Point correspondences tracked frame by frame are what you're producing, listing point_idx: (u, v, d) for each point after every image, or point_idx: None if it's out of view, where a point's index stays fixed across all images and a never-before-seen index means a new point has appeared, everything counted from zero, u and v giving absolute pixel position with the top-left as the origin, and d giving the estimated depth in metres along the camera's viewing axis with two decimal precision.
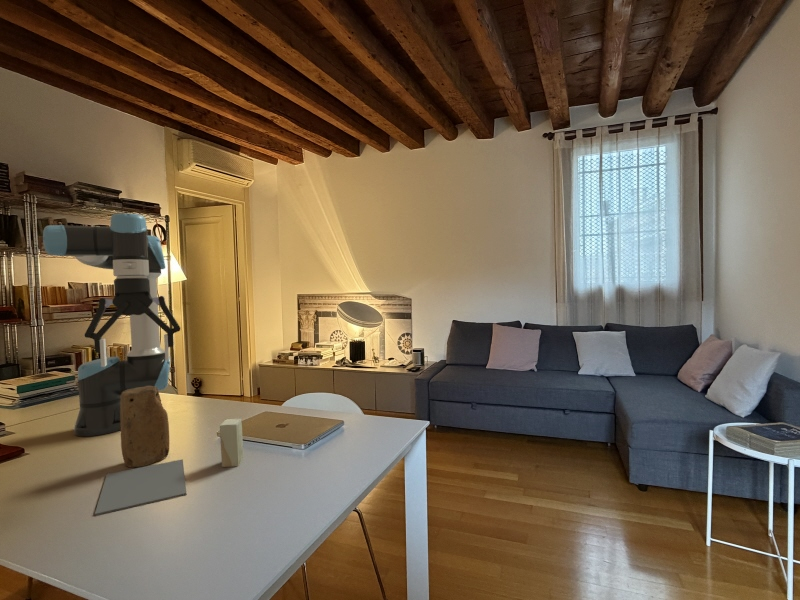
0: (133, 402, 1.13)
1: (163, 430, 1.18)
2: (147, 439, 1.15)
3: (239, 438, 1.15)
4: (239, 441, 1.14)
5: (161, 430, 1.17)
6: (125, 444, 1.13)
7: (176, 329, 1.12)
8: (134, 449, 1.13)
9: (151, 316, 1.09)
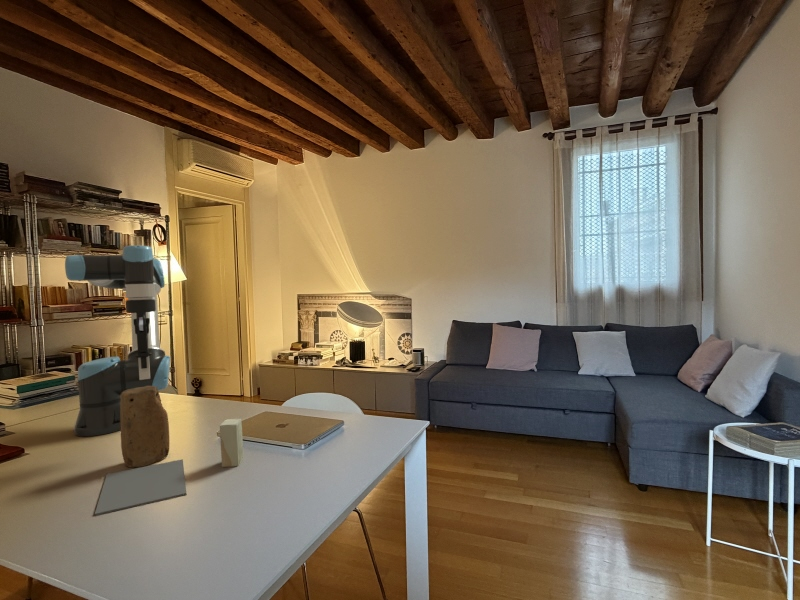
0: (133, 402, 1.13)
1: (163, 430, 1.18)
2: (147, 439, 1.15)
3: (239, 438, 1.15)
4: (239, 441, 1.14)
5: (161, 430, 1.17)
6: (125, 444, 1.13)
7: None
8: (134, 449, 1.13)
9: None
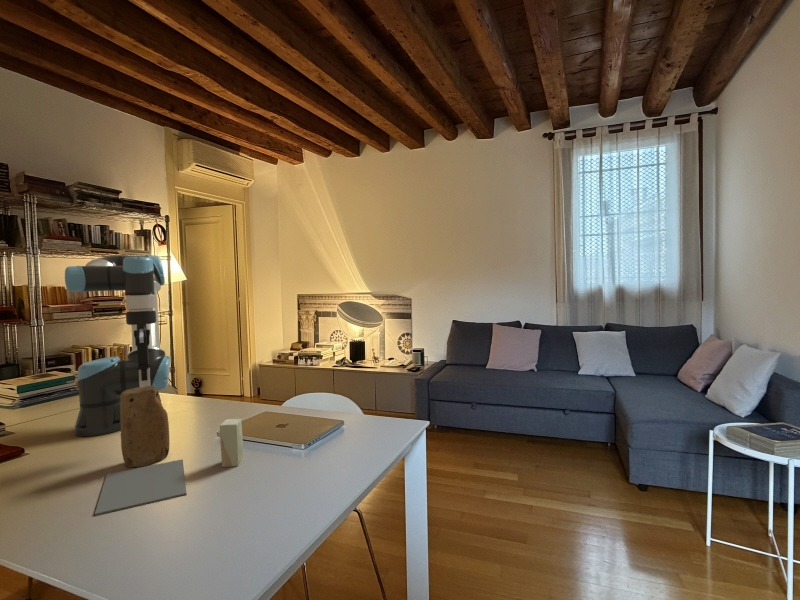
0: (133, 402, 1.13)
1: (163, 430, 1.18)
2: (147, 439, 1.15)
3: (239, 438, 1.15)
4: (239, 441, 1.14)
5: (161, 430, 1.17)
6: (125, 444, 1.13)
7: None
8: (134, 449, 1.13)
9: None
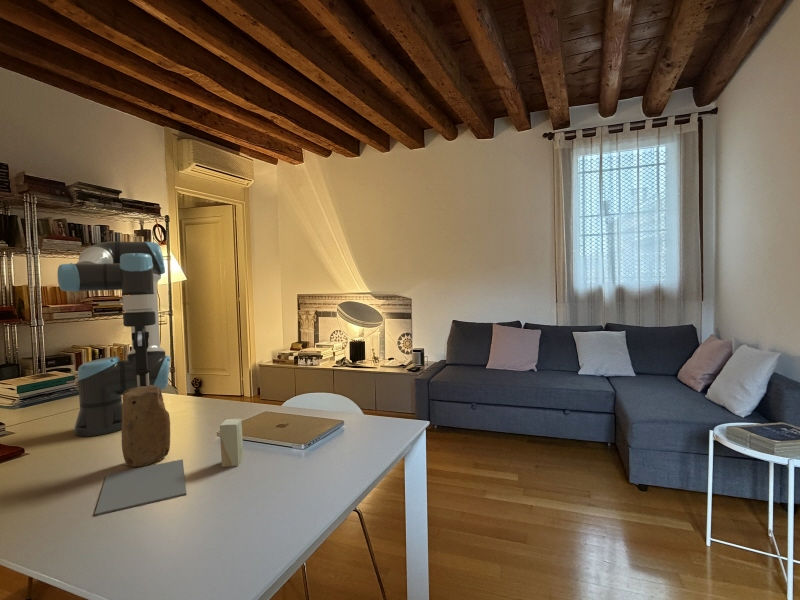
0: (135, 405, 1.11)
1: (164, 432, 1.17)
2: (148, 440, 1.14)
3: (239, 438, 1.15)
4: (239, 441, 1.14)
5: (163, 432, 1.16)
6: (126, 445, 1.12)
7: None
8: (135, 450, 1.13)
9: None
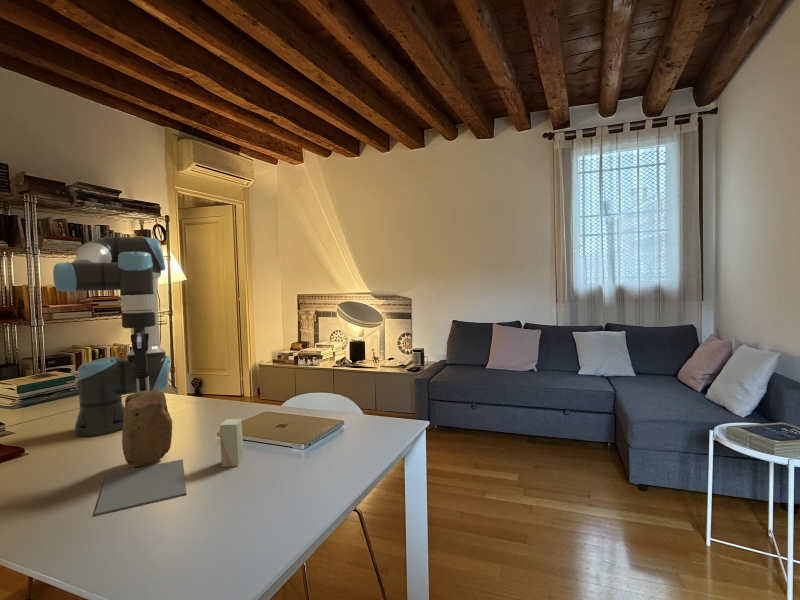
0: (138, 416, 1.07)
1: (166, 437, 1.15)
2: (149, 445, 1.13)
3: (239, 438, 1.15)
4: (239, 441, 1.14)
5: (165, 437, 1.14)
6: (127, 449, 1.10)
7: None
8: (136, 454, 1.11)
9: None
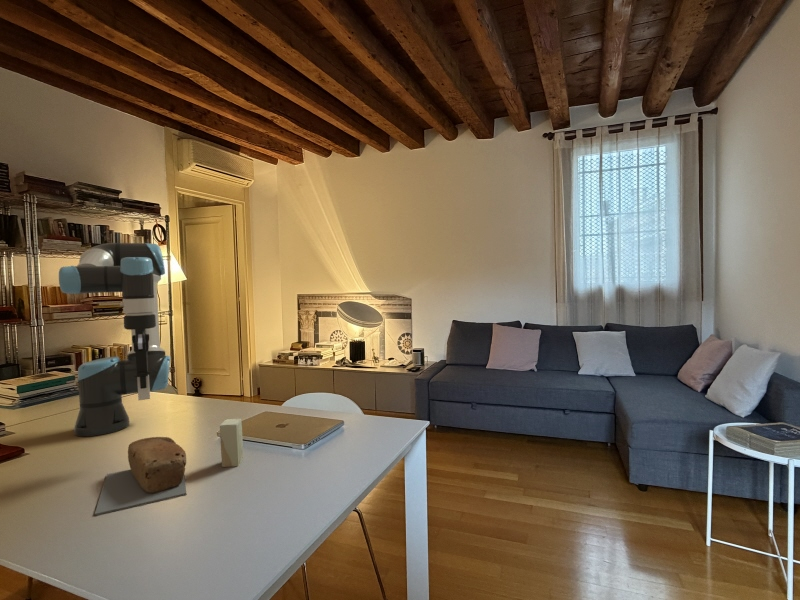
0: None
1: None
2: None
3: (239, 438, 1.15)
4: (239, 441, 1.14)
5: None
6: (133, 474, 1.07)
7: None
8: None
9: None
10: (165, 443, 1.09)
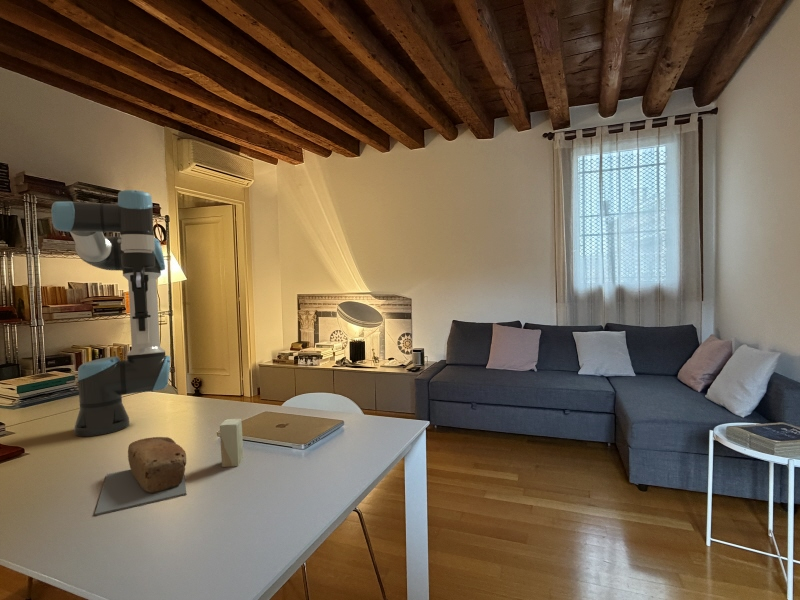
0: None
1: None
2: None
3: (239, 438, 1.15)
4: (239, 441, 1.14)
5: None
6: (133, 474, 1.07)
7: None
8: None
9: None
10: (166, 443, 1.09)
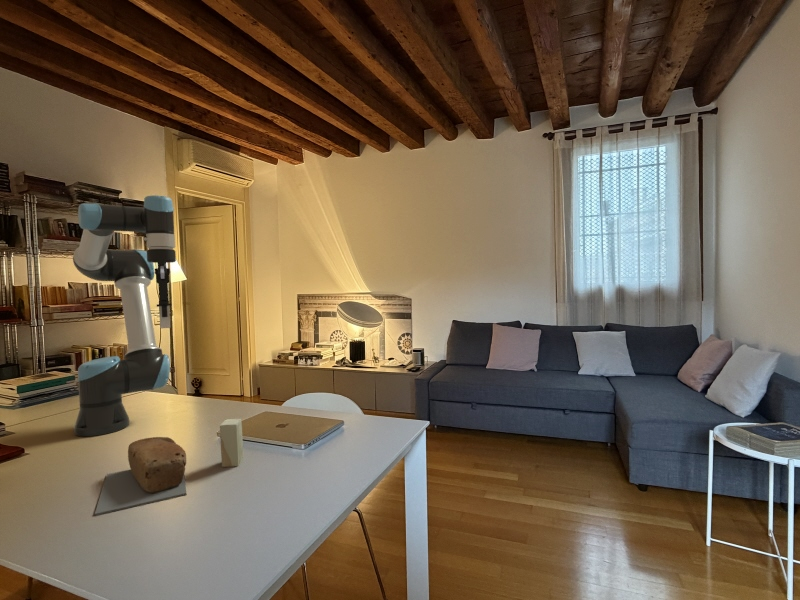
0: None
1: None
2: None
3: (239, 438, 1.15)
4: (239, 441, 1.14)
5: None
6: (133, 474, 1.07)
7: None
8: None
9: None
10: (166, 443, 1.09)
